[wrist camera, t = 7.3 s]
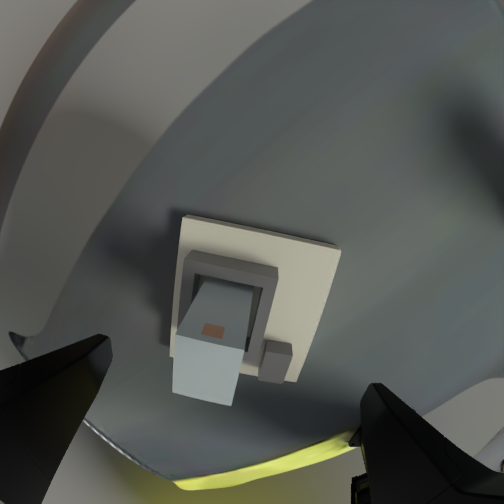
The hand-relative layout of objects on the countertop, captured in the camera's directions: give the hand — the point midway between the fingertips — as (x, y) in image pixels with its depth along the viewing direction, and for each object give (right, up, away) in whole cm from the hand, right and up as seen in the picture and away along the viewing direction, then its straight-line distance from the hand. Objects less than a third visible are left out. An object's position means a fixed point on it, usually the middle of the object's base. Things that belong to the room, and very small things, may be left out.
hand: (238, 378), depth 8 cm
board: (0, 0, +13) cm, 13 cm away
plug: (-1, 0, +12) cm, 12 cm away
